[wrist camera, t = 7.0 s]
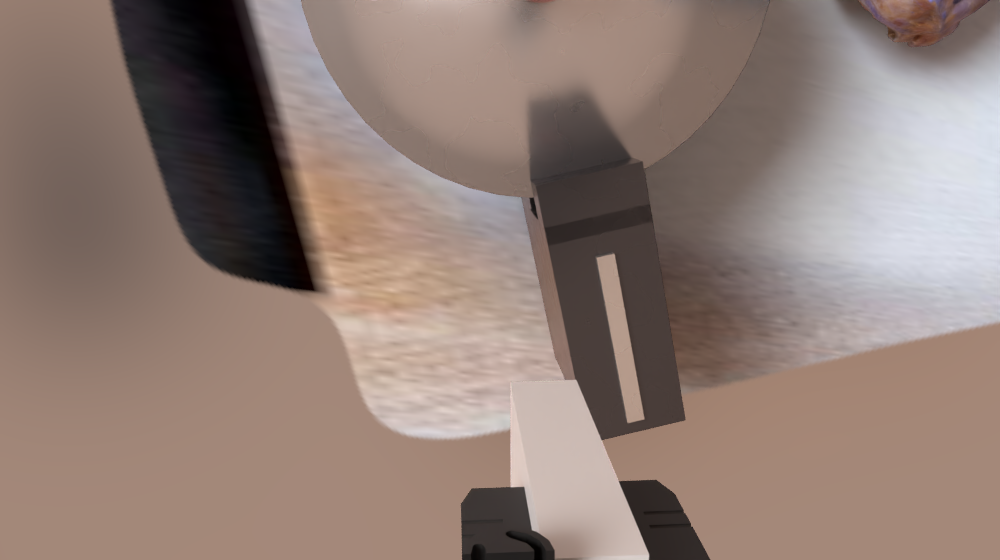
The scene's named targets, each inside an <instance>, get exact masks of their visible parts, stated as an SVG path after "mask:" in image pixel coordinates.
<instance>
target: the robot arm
mask: <svg viewBox="0 0 1000 560" xmlns="http://www.w3.org/2000/svg"><path fill="white" fill-rule="evenodd" d="M510 410H511V487H506V488H504V487H503V488H478V489H471V491H470V492H469V493H468V495H467V496H466V498H465V499H464V501H463V502H462V503H461V520H462V521H461V522H462V560H710V559H709V557H708V555H707V553H706V551H705V549H704V547H703V545H702V544H701V542H700V540H699V538H698V536H697V534H696V533H695V531H694V529H693V527H691V523H690V521H689V519H688V518H687V516H686V514H685V513H684V512H683V508H682V507H681V505H680V503H679V501H678V499H677V497H676V495H675V494H674V493H673V492H672V491H670V490H669V489H667V488H666V487H665V486H664V485H662V484H661V483H660V482H658V481H657V480H641V481H618V479H617V476H616V474H615V471H614V469H613V467H612V464H611V462H610V460H609V457H608V455H607V452H606V450H605V447H604V445H603V443H602V440H601V438H600V435H599V433H598V431H597V428H596V426H595V423H594V421H593V419H592V416H591V414H590V411H589V409H588V407H587V404H586V402H585V399H584V397H583V395H582V392H581V390H580V387H579V385H578V383H577V380H552V381H517V382H510Z"/></svg>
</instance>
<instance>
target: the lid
mask: <svg viewBox="0 0 1000 560" xmlns="http://www.w3.org/2000/svg"><path fill="white" fill-rule="evenodd" d="M769 1H770V0H301V3H302V8H303V11H304V14H305V17H306V20H307V23H308V26H309V29H310V32H311V35H312V38H313V41H314V43H315V45H316V47H317V49H318V51H319V53H320V55H321V57H322V59H323V61H324V64H325V66H326V68H327V70H328V72H329V73H330V75H331V76H332V78H333V79H334V81H335V82H336V84H337V86H338V87H339V89H340V90H341V92H342V93H343V95H344V97H345V98H346V99H347V101H348V102H349V103H350V104H351V105H352V107H353V108H354V109H355V110H356V111H357V113H358V114H359V115H360V116H361V117H362V119H363V120H364V121H365V122H366V123H367V124H368V125H369V126H370V127H371V128H372V129H373V130H374V131H375V132H376V133H377V134H379V135H380V136H381V137H382V138H383V139H384V140H385V141H386V142H387V143H388V144H389V145H391V146H392V147H393V148H395V149H396V150H398V151H399V152H400V153H402V154H403V155H405V156H406V157H407V158H409V159H410V160H411V161H413V162H414V163H416V164H418V165H420V166H422V167H423V168H425V169H427V170H429V171H431V172H433V173H435V174H436V175H438V176H440V177H442V178H445V179H448V180H450V181H453V182H455V183H458V184H461V185H463V186H466V187H469V188H472V189H477V190H481V191H485V192H489V193H493V194H498V195H506V196H516V197H526V198H532V197H534V201H535V206H536V208H532V209H530V214H531V219H532V224H533V229H534V234H535V238H536V243H537V248H538V253H539V258H540V262H541V267H542V272H543V277H544V282H545V286H546V291H547V296H548V301H549V306H550V310H551V315H552V320H553V325H554V330H555V334H556V339H557V344H558V349H559V354H560V358H561V363H562V368H563V373H564V378H565V380H577V383H578V385H579V387H580V390H581V392H582V395H583V397H584V399H585V402H586V404H587V407H588V409H589V411H590V414H591V416H592V419H593V421H594V423H595V426H596V428H597V431H598V433H599V435H600V438H601V440H604V439H608V438H613V437H617V436H620V435H625V434H629V433H633V432H638V431H642V430H646V429H650V428H654V427H659V426H663V425H667V424H671V423H676V422H679V421H684V420H685V414H684V408H683V402H682V396H681V390H680V384H679V378H678V372H677V366H676V360H675V354H674V348H673V341H672V335H671V329H670V323H669V317H668V311H667V305H666V299H665V293H664V287H663V281H662V275H661V269H660V263H659V257H658V251H657V245H656V239H655V233H654V227H653V221H652V215H651V209H650V203H649V197H648V191H647V184H646V178H645V172H644V169H646V168H648V167H649V166H651V165H652V164H654V163H656V162H657V161H659V160H661V159H662V158H664V157H666V156H667V155H668V154H670V153H671V152H672V151H673V150H675V149H676V148H677V147H678V146H680V145H681V144H682V143H683V142H685V141H686V140H687V139H688V138H690V137H691V136H692V135H693V134H694V133H695V132H696V131H697V130H698V129H699V128H700V127H701V126H702V124H703V123H704V122H705V121H706V120H707V119H708V118H709V117H710V116H711V115H712V114H713V113H714V111H715V110H716V109H717V107H718V106H719V105H720V104H721V102H722V101H723V100H724V98H725V97H726V96H727V94H728V93H729V92H730V90H731V89H732V87H733V85H734V84H735V82H736V80H737V79H738V77H739V75H740V74H741V72H742V70H743V69H744V67H745V65H746V63H747V61H748V59H749V57H750V54H751V52H752V50H753V48H754V45H755V43H756V41H757V39H758V36H759V34H760V31H761V28H762V24H763V21H764V18H765V15H766V11H767V8H768V5H769Z"/></svg>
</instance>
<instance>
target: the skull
mask: <svg viewBox="0 0 1000 560" xmlns="http://www.w3.org/2000/svg"><path fill="white" fill-rule="evenodd" d="M858 1H859V2H860V4H861V5H862V6H863V8H864V9H865V10H867V11H869V12H870V13H871V14H872V16H873V17H874V19H876V20H878V21H879V22H881V23H883V24H884V25H886V26H887V28H888V37H889V38H890V39H891V40H892V41H893V42H907V43H908V45H909V46H910V47H921V46H929V45H932V44H935V43H937V42H938V41H940V40H941V39H943V38H944V37H946V36H948V35H950V34H951V33H952V32H954V30H955V29H956V28H957V27H958V25H959V23H960V21H961V20H962V19H964V18H965V17H967V16H969V15H971V14H972V13H974V12H975V11H977V10H978V9H979V8H981V7H982V6H983V5H984V4H986V3H987V2H988V1H989V0H858Z"/></svg>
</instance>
